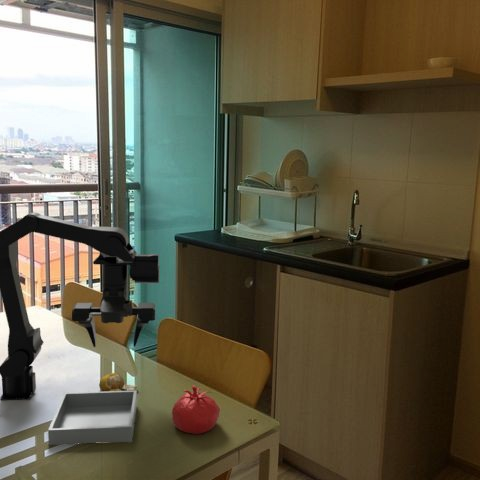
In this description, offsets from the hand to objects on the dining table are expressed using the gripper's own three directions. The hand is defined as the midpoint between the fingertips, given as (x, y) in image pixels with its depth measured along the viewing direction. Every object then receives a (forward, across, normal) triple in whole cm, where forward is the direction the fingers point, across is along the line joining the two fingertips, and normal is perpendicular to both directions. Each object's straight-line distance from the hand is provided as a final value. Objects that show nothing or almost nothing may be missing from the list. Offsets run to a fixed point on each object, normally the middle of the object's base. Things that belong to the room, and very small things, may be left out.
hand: (114, 346), depth 128 cm
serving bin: (+12, -2, -16) cm, 20 cm away
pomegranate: (+12, +18, -18) cm, 28 cm away
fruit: (+13, +3, -1) cm, 14 cm away
